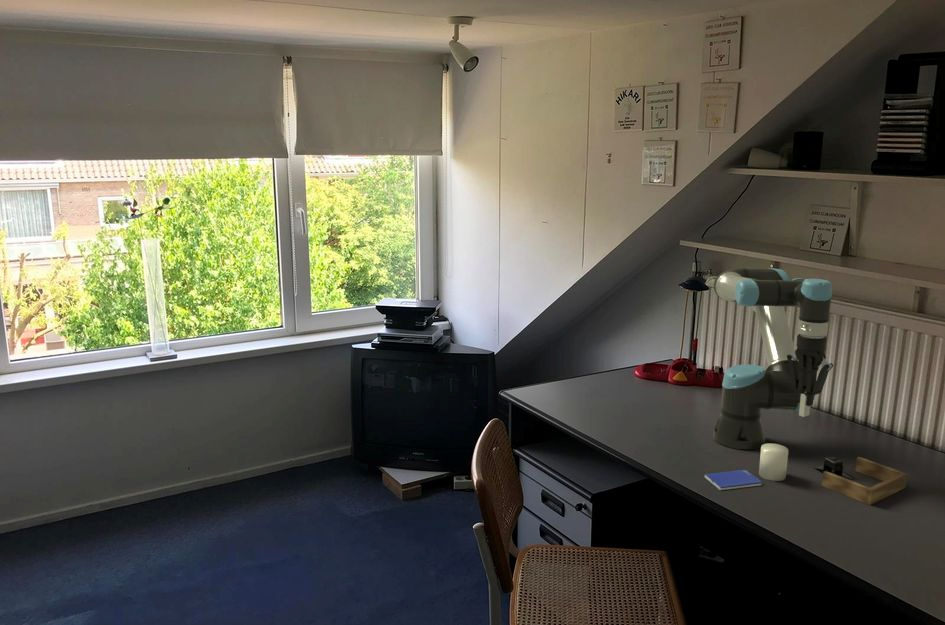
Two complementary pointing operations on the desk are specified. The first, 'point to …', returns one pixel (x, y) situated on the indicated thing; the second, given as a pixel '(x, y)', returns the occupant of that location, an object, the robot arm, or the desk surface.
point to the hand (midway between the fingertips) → (804, 415)
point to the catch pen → (889, 486)
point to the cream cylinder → (773, 462)
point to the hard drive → (733, 479)
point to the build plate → (833, 467)
